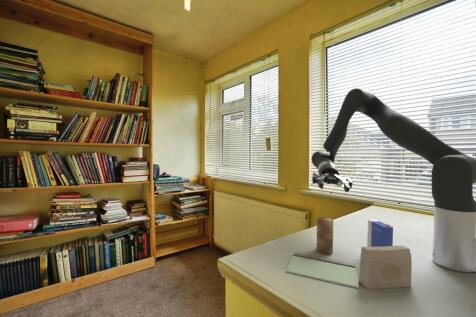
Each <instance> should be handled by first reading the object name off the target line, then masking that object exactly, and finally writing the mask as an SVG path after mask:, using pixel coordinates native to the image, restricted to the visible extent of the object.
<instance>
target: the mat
mask: <svg viewBox="0 0 476 317" xmlns="http://www.w3.org/2000/svg"><path fill="white" fill-rule="evenodd" d="M357 271H358V270H357V268H355V267H350V266H345V265H340V264H335V263H329V262H324V261H319V260H314V259H309V258H304V257H299V256H294V255H293V256H292V258H291V259H290V261H289V264H288V265H287V268H286V273H289V274H294V275H298V276H302V277H306V278H310V279H314V280H319V281H322V282H323V281H324V282H328V283H332V284H336V285H341V286H346V287H351V288H353V289H358V290H359V289H360V284H359V278H358V273H357Z"/></svg>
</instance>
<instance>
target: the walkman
mask: <svg viewBox="0 0 476 317" xmlns="http://www.w3.org/2000/svg"><path fill="white" fill-rule="evenodd" d="M366 239H367V240H366V241H367V242H366V247H385V246H394V245H393V244H394V242H393V241H394V227H393V226H391V224H389V223H384V222H382V221H380V220H377V219H367V238H366Z"/></svg>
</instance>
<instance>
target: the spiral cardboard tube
mask: <svg viewBox="0 0 476 317" xmlns="http://www.w3.org/2000/svg"><path fill="white" fill-rule="evenodd" d="M333 245H334V219H333V218H330V217H327V216H326V217H325V216H324V217H323V216H321V217H320V216H319V217H317V218H316V248H315V249H316V252H317V253H319V254H321V255H324V256H325V255H326V256H330V255H332V254H333V253H334V246H333Z"/></svg>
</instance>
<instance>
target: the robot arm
mask: <svg viewBox="0 0 476 317" xmlns="http://www.w3.org/2000/svg"><path fill="white" fill-rule="evenodd" d="M356 112H357V113H361V114H363V115H365V116H367V117H368V118H369V119H371V120H373V121H374V122H375V123H376V125H377V127H378V128H379V130H380V132H382V134H383V135H384V136H386V137H387V138H388V139H389V140H390V141H392V142H393V143H395V144H396V145H397V146H399V147H401V148H403V149H405V150H407V151H409V152H411V153H413V154H415V155H417V156H420V157H421V158H423V159H424V160H426V161H427V162H429V163H430V164H431V165H432V168H431V196H432V199H433V202H434V205H433V206H434V208H433V234H432V237H433V238H432V261H433V262H434V263H436V265H438V266H440V267H443V268H446V269H449V270H451V271H455V272H456V271H457V272H461V273H473V272H474V273H476V200H475V199H474V196H473V195H474V194H473V189H474V188H473V185H474V184H475V183H476V159H475V158H474V157H472V156H469V155H468V154H465V153H464V152H461V151H460V150H458V149H456V148H454V147H453V146H451V145H448V144H447V143H445V142H444V141H442V140H441V139H440V138H438V137H437V136H436V135H434V134H433V133H431V132H430V131H429V130H428V129H426V128H425V127H423V126H422V125H420V124H419V123H418V122H417V121H414V120H413V118H410V117H409V116H407V115H405V114H404V113H402V112H400V111H398V110H396V109H394V108H393V107H390V106H389V105H387V104H386V103H384V101H383V100H381V99H380V97H378V96H377V95H375V93H373V92H372V91H370V90H366V89H363V88H358V87H356V88H353V89H350V91H348V92H347V94H346V95H345V98H344V100H343V101H342V104H341V107H340V109H339V112H338V113H337V117H336V119H335V122H334V124H333V127H332V129H331V131H330V132H329V134H328V136H327V137H326V140H325V141H324V143H323V145H322V147H323V149H324V150H325V151H327V152H328V153H329V154H327V153H325V152H322V151H320V150H318V151H315V152H313V154H312V156H311V163H312V165H314V167H315V168H316V169H317V173H316V172H314V171H313V172H312V178H311V180H312V181H311V183H312V184H314V185H316V184H317V185H318V187H319V188H320V190H323V189H324V185H335V186H336V187H339V188H343V190H344V192H345V193H348V192H350V190H351V189H352V188H353V185H354V184H353V183H354V182H353V180H352V179H351V178H350V176H345V177H342V176H340V173H339V172H340V171H339V170H338V169H337V167H336V165H335V164H334V163H335V159H336V156H337V153H338V151H339V149H340V148H341V146H342V145H343V143H344V141H345V139H346V137H347V133H348V127H349V123H350V121H351V119H352V117H353V115H355V113H356Z"/></svg>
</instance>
